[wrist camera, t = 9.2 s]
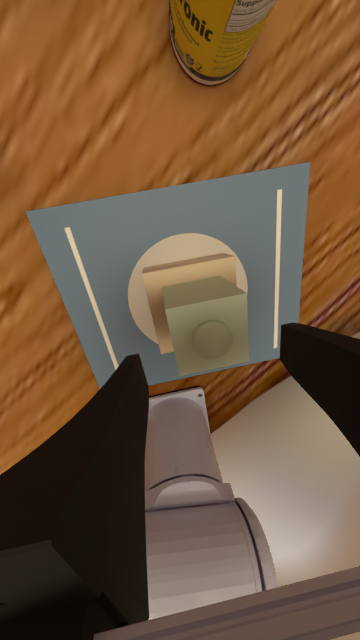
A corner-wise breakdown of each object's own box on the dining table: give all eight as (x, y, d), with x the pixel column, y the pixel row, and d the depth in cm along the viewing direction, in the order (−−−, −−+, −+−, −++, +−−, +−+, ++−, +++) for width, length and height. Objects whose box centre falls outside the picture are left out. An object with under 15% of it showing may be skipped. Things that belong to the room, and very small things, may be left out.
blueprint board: (292, 351, 24) (314, 370, 21) (103, 391, 23) (95, 417, 20) (305, 164, 17) (342, 147, 13) (30, 212, 16) (-3, 207, 12)
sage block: (224, 327, 18) (253, 367, 12) (172, 338, 17) (180, 382, 12) (219, 275, 16) (251, 296, 11) (161, 286, 16) (165, 313, 10)
